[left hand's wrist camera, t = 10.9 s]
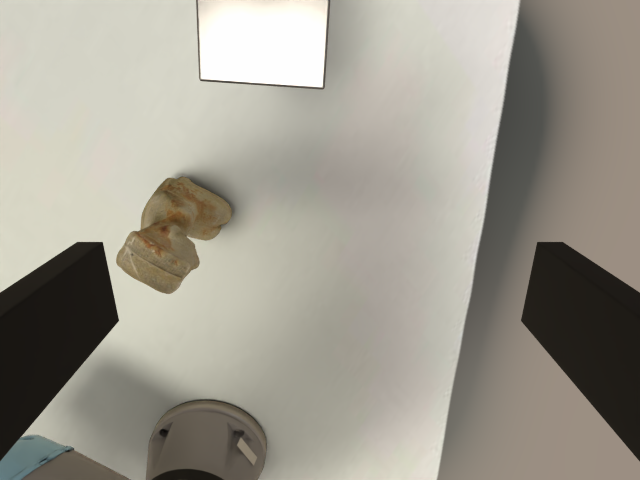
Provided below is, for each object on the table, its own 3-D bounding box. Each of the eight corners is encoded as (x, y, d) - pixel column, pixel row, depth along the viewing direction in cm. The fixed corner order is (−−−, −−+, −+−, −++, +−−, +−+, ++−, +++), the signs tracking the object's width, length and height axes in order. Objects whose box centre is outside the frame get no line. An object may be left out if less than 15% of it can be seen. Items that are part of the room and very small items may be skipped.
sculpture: (210, 242, 45) (160, 316, 31) (154, 201, 43) (74, 259, 29) (242, 203, 43) (204, 262, 29) (185, 159, 41) (115, 199, 27)
